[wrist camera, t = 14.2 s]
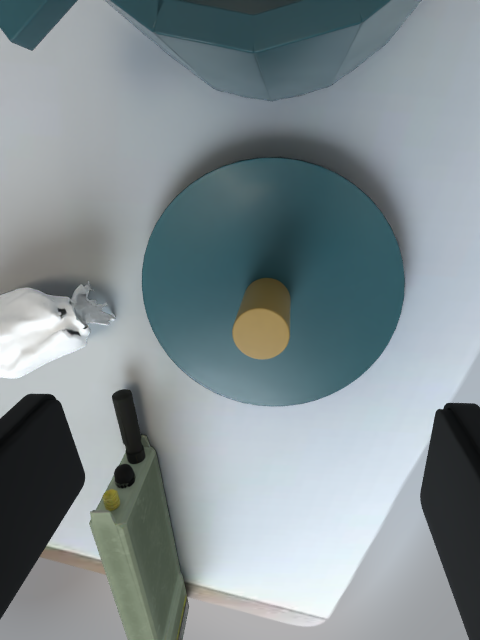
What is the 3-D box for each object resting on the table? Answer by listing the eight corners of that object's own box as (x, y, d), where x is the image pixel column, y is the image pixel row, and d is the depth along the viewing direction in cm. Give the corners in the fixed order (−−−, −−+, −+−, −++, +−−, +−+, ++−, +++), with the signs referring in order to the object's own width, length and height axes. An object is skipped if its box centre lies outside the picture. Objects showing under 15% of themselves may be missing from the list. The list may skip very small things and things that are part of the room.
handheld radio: (159, 598, 36) (105, 382, 26) (192, 600, 35) (150, 381, 25) (135, 689, 29) (51, 451, 20) (175, 692, 29) (110, 452, 19)
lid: (100, 254, 22) (41, 284, 17) (316, 91, 17) (327, 61, 12) (236, 426, 26) (222, 493, 21) (442, 332, 21) (491, 388, 16)
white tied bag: (72, 244, 23) (-52, 323, 24) (39, 280, 17) (-125, 384, 18) (121, 303, 26) (6, 374, 26) (107, 353, 19) (-41, 443, 20)
